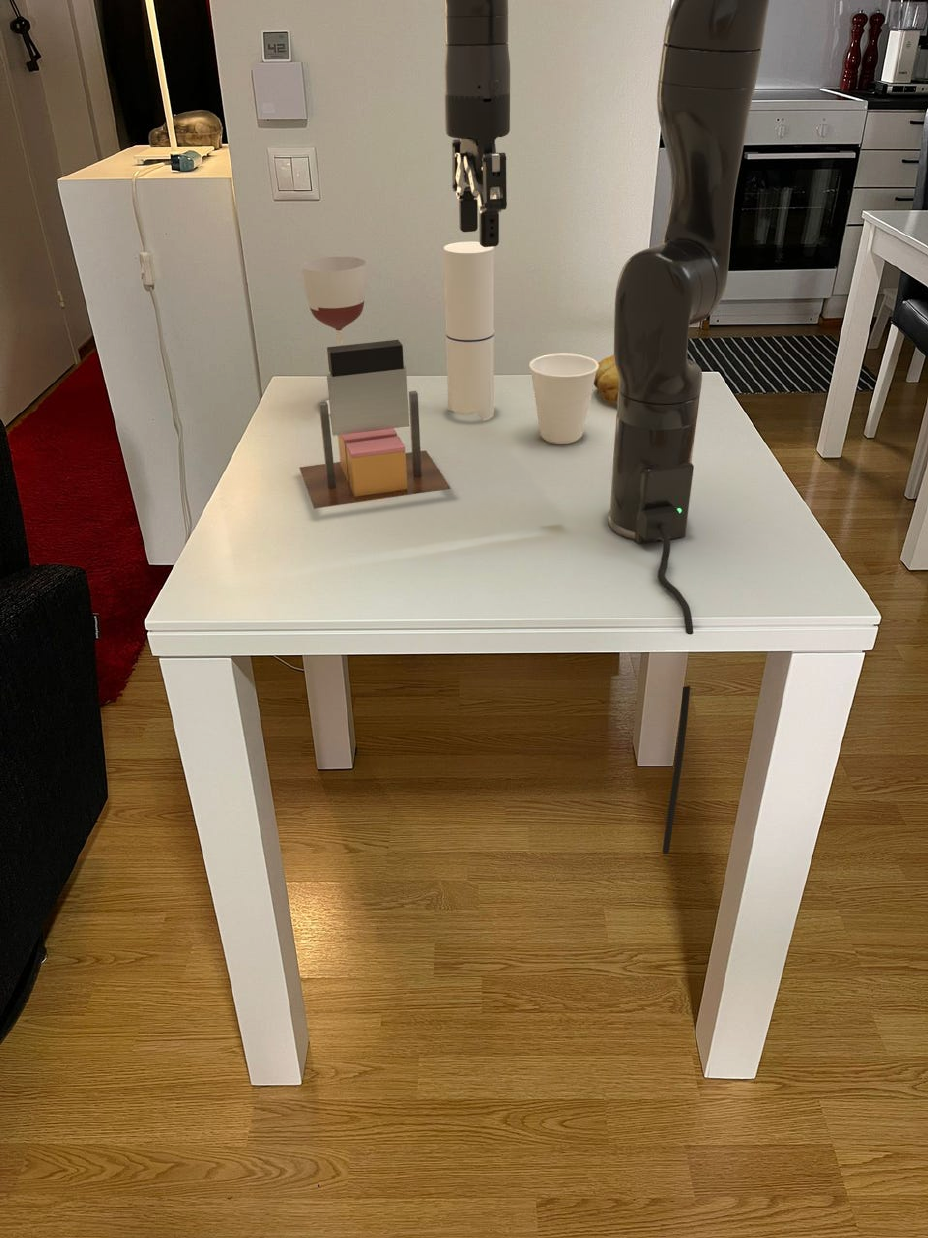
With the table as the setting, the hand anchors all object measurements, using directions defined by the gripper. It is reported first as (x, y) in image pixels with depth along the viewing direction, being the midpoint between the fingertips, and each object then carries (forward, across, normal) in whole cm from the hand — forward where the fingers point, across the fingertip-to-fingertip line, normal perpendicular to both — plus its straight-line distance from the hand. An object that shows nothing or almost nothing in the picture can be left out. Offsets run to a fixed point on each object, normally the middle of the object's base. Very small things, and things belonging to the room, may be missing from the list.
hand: (478, 238), depth 120 cm
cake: (+29, +3, -16) cm, 33 cm away
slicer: (+30, +3, -16) cm, 34 cm away
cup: (+30, -5, +14) cm, 34 cm away
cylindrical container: (+30, -18, +4) cm, 35 cm away
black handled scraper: (+21, +4, -16) cm, 27 cm away
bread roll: (+30, -16, +29) cm, 45 cm away
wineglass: (+30, -28, -14) cm, 44 cm away
